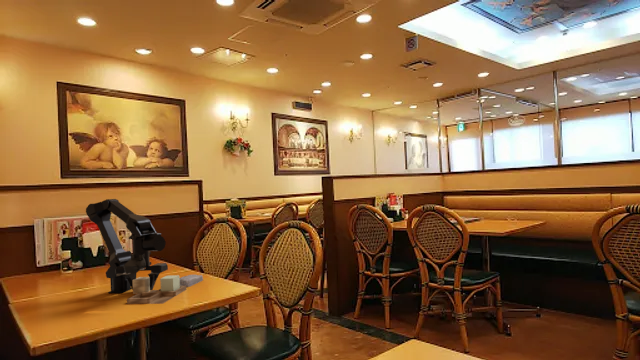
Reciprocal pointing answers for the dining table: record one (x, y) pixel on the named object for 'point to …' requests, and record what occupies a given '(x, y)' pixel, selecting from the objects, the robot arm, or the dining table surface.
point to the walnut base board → (154, 296)
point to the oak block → (141, 285)
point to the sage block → (170, 283)
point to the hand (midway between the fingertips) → (142, 290)
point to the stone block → (190, 280)
